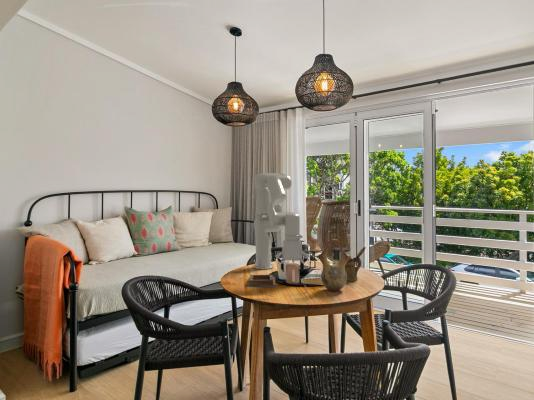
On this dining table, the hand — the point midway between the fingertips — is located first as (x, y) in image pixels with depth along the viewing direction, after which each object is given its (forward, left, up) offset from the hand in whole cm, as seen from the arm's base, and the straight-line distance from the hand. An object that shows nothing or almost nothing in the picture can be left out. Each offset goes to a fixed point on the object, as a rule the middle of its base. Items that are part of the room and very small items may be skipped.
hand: (292, 271), depth 170 cm
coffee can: (-25, +31, -7) cm, 40 cm away
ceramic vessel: (+10, +19, -7) cm, 23 cm away
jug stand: (0, -16, -7) cm, 17 cm away
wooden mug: (-8, +33, -7) cm, 35 cm away
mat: (0, 0, -7) cm, 7 cm away
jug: (+2, 0, -7) cm, 7 cm away
